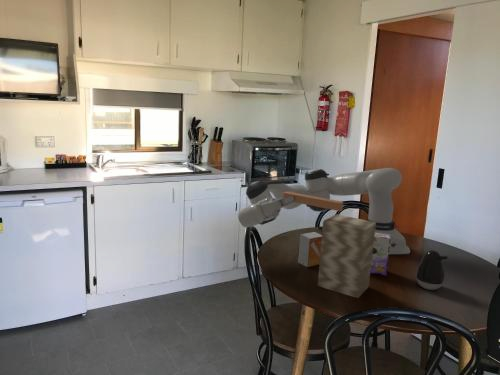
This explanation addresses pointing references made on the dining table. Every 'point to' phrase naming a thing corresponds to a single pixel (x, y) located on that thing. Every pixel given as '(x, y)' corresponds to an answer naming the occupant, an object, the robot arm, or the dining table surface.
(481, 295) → the dining table surface
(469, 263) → the dining table surface
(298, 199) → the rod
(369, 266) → the stand
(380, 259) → the candy box
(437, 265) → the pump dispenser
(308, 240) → the small box
